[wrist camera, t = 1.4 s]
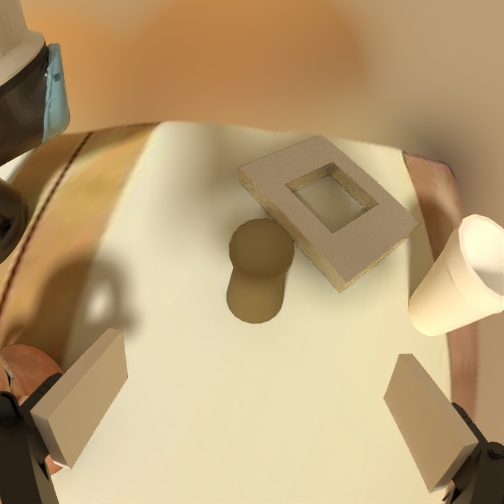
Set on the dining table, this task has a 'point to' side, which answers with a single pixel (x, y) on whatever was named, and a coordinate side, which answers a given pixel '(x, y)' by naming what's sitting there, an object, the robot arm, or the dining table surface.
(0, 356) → the ceramic jug
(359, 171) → the plate
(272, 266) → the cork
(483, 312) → the foam cup
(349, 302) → the dining table surface
